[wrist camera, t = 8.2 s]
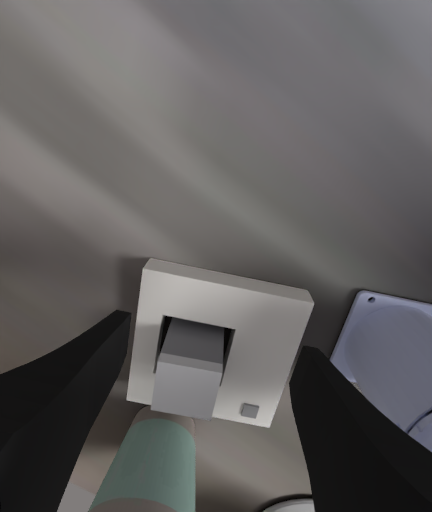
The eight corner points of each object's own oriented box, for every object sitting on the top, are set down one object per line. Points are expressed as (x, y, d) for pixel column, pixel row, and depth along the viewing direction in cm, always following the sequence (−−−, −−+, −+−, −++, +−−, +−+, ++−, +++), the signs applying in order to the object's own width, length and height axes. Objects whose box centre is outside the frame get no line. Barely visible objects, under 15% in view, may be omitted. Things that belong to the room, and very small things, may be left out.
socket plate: (307, 289, 23) (315, 304, 21) (266, 407, 27) (269, 429, 25) (150, 257, 22) (142, 269, 20) (133, 382, 27) (125, 402, 25)
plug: (224, 319, 24) (222, 373, 19) (215, 359, 26) (210, 420, 20) (174, 309, 24) (157, 361, 18) (168, 350, 25) (150, 409, 20)
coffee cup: (105, 435, 29) (27, 618, 18) (142, 375, 26) (77, 548, 15) (183, 469, 30) (155, 661, 19) (227, 416, 28) (224, 603, 16)
